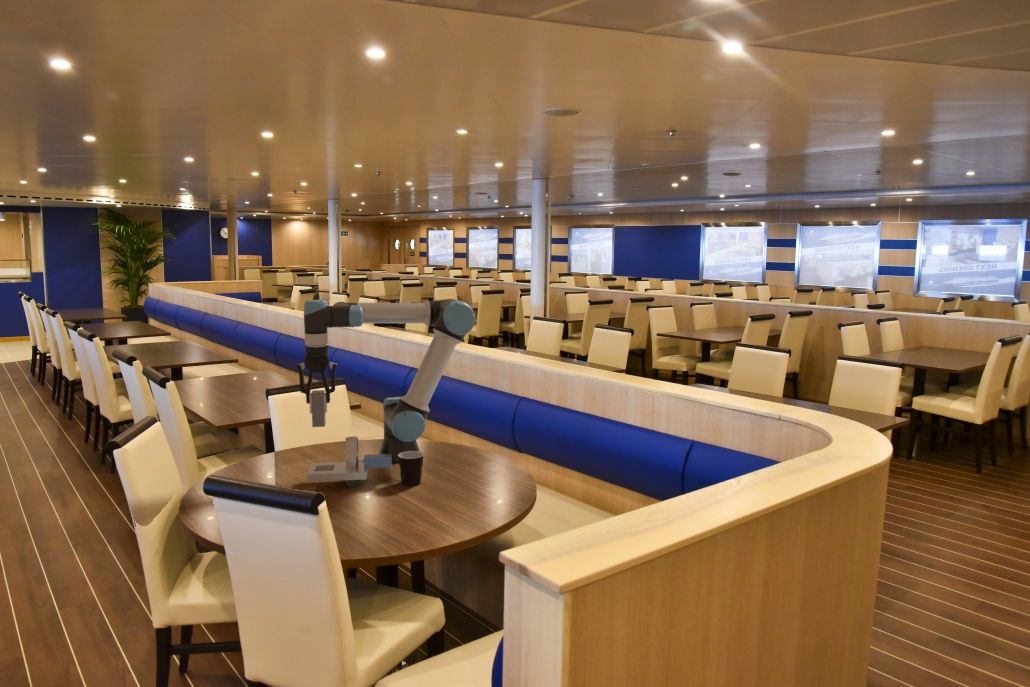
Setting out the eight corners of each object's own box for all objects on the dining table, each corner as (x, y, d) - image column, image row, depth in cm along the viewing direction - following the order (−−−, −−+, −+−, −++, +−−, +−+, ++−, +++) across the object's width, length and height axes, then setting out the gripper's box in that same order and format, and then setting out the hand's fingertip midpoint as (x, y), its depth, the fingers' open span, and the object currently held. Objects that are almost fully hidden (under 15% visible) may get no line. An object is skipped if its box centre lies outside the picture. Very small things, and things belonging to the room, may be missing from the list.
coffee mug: (419, 488, 232) (418, 459, 231) (394, 486, 234) (394, 457, 233) (430, 477, 244) (430, 449, 242) (406, 475, 245) (406, 448, 244)
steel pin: (325, 423, 245) (324, 390, 243) (324, 426, 241) (323, 392, 239) (313, 424, 244) (312, 390, 243) (312, 427, 240) (311, 392, 239)
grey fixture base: (392, 477, 244) (391, 432, 241) (391, 488, 232) (390, 441, 230) (312, 480, 240) (311, 434, 238) (307, 492, 228) (305, 444, 226)
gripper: (343, 343, 244) (344, 409, 247) (292, 344, 241) (294, 410, 244) (341, 346, 236) (343, 414, 240) (288, 347, 234) (291, 415, 237)
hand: (318, 412), depth 242 cm, fingers closed on steel pin, 4 cm apart
